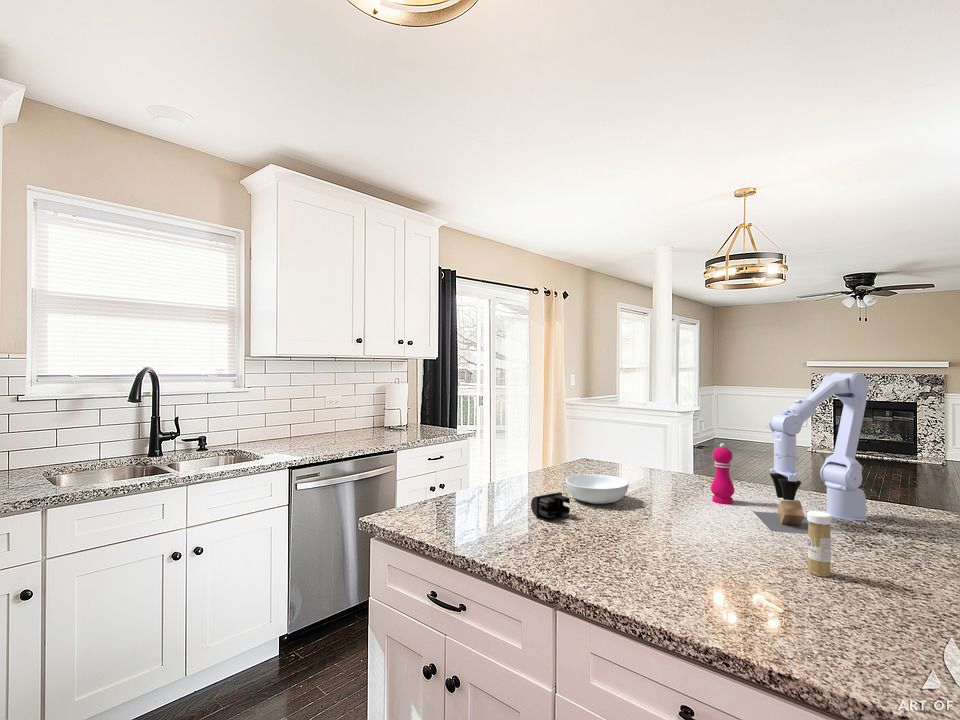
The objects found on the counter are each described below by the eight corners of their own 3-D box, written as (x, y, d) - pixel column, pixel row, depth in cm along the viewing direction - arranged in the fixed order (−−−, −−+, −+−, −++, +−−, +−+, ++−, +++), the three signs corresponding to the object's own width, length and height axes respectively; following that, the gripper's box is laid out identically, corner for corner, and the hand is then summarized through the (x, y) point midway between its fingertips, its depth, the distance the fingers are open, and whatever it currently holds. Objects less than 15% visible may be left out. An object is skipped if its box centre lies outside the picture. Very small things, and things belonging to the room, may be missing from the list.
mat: (802, 515, 162) (802, 514, 162) (828, 536, 142) (828, 535, 142) (752, 512, 165) (753, 511, 165) (771, 532, 146) (771, 531, 146)
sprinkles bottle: (802, 569, 119) (802, 510, 119) (821, 569, 120) (821, 510, 120) (817, 578, 115) (817, 516, 115) (836, 577, 115) (836, 515, 115)
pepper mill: (737, 506, 172) (737, 445, 172) (713, 504, 174) (713, 444, 174) (731, 500, 179) (731, 441, 180) (708, 499, 181) (708, 441, 181)
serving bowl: (554, 496, 184) (554, 477, 184) (602, 490, 193) (602, 472, 193) (590, 512, 165) (590, 490, 165) (642, 504, 174) (642, 484, 174)
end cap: (555, 511, 166) (555, 490, 166) (570, 517, 160) (571, 495, 160) (530, 516, 160) (530, 494, 160) (545, 522, 154) (545, 499, 154)
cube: (799, 500, 151) (804, 515, 148) (796, 510, 154) (800, 525, 151) (780, 499, 152) (784, 514, 149) (777, 509, 156) (781, 524, 152)
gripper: (763, 450, 165) (763, 493, 165) (777, 458, 151) (777, 506, 151) (788, 451, 163) (788, 495, 163) (804, 459, 149) (804, 507, 149)
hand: (784, 500), depth 157 cm, fingers open, 6 cm apart
